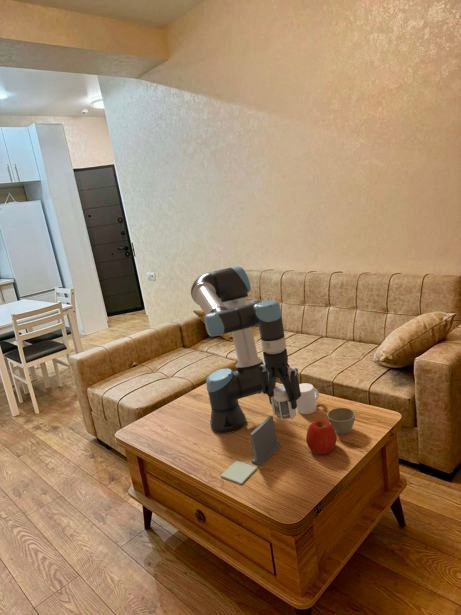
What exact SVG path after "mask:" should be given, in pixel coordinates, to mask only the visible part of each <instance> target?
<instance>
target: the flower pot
mask: <svg viewBox="0 0 461 615" xmlns="http://www.w3.org/2000/svg"><path fill="white" fill-rule="evenodd" d="M327 418H328V422H329V423H330V424H331V425H332V427H333V428H334V430H335V432H336V434H337V435H338V434H339V435H344V436H345V435H347V434H349V433H350V432H351V430H352V429H353V426H354V424H355V420H356V419H355V418H356V413H355V411H354V410H353V409H351V408H348V407H337V408H333V409H331V410H329V411H328V412H327Z"/></svg>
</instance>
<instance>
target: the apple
mask: <svg viewBox="0 0 461 615" xmlns="http://www.w3.org/2000/svg"><path fill="white" fill-rule="evenodd" d="M337 435H338V434H337V432H336V431H335V430H334V428H333V427H332V425H331V424H330V422H329V421H327V420H324V419H317V420H314V421H312V422H311V424H309V427H308V428H307V432H306V439H305V440H306V441H305V442H306V445H307V447H308V449H309V450H310V451H311V452H312V453H313V454H316V455H326V454H328V453H331V452H332V451H333V449H334V448H335V447H336V444H337V439H338V436H337Z"/></svg>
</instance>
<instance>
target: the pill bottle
mask: <svg viewBox="0 0 461 615" xmlns="http://www.w3.org/2000/svg"><path fill="white" fill-rule="evenodd" d="M274 394H275V395H274V397H273V398H274V404H275V410H276V415H275V416H276V417H277V418H278V419H279V420H282V421H283V420H285V421H286V420H289V419H290V414H289V407H288V400H289V397H288V395H287V392H286V390H285V388H284V385H283V384H282V385H275V388H274ZM277 418H276V419H277ZM290 420H291V419H290Z"/></svg>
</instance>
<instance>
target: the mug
mask: <svg viewBox="0 0 461 615" xmlns="http://www.w3.org/2000/svg"><path fill="white" fill-rule="evenodd" d="M299 387H300V392H301V397H300V398H299V399H297V400H296V402H297V408H296V412H297V413H299V414H301V415H311V414H313V413H315V412H316V411H317V409H318V408H317V403H316V402H317V400H319V396H320V392H319V390H318V389H317V388H315V387H314V385H313V384H312V383H306V382H304V383H299Z"/></svg>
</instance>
